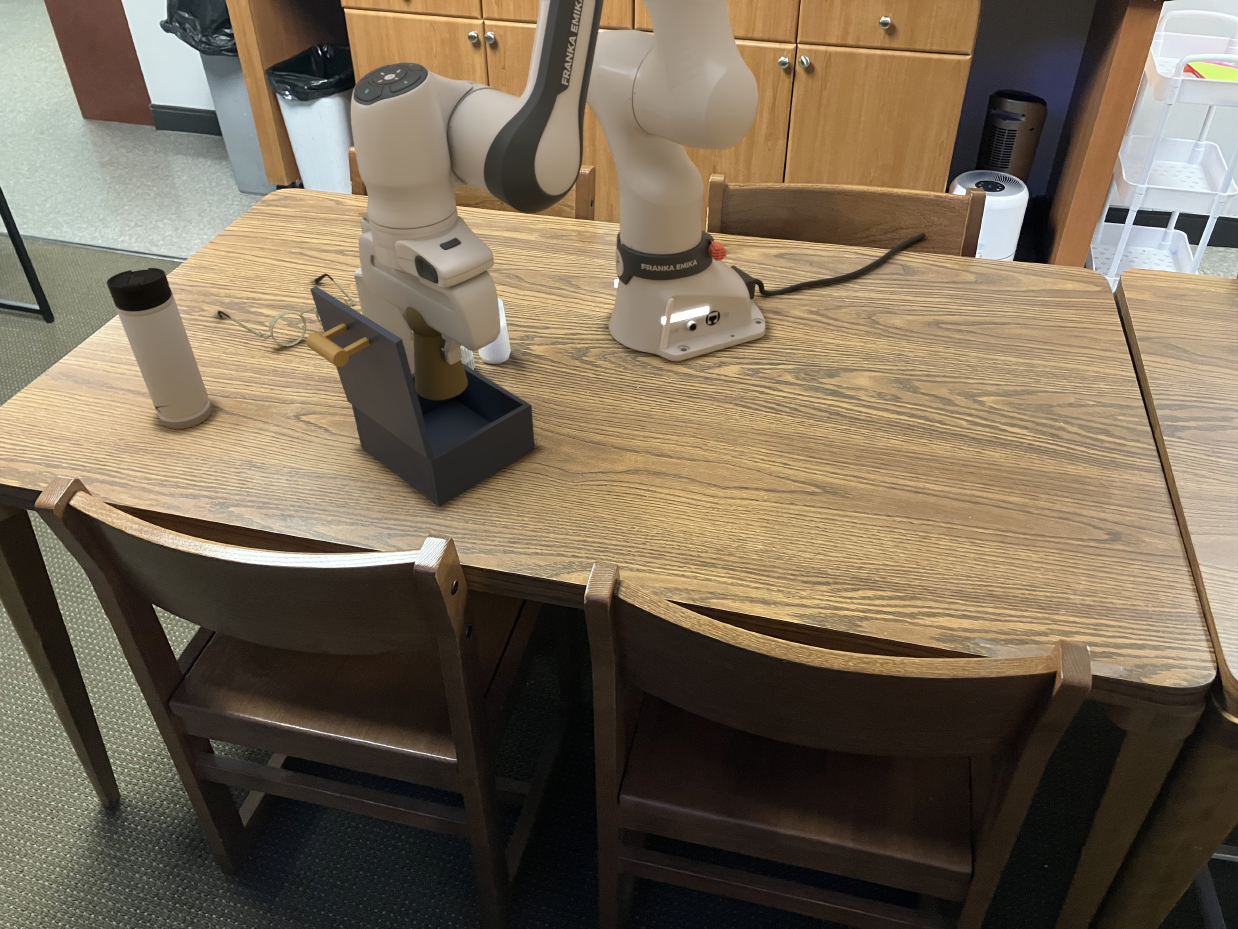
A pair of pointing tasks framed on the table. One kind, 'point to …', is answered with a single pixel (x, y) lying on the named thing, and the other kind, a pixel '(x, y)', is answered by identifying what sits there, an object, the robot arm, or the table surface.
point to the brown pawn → (433, 362)
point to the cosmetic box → (384, 315)
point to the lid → (370, 369)
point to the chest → (456, 439)
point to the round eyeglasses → (292, 313)
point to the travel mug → (161, 346)
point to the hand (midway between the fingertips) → (436, 350)
